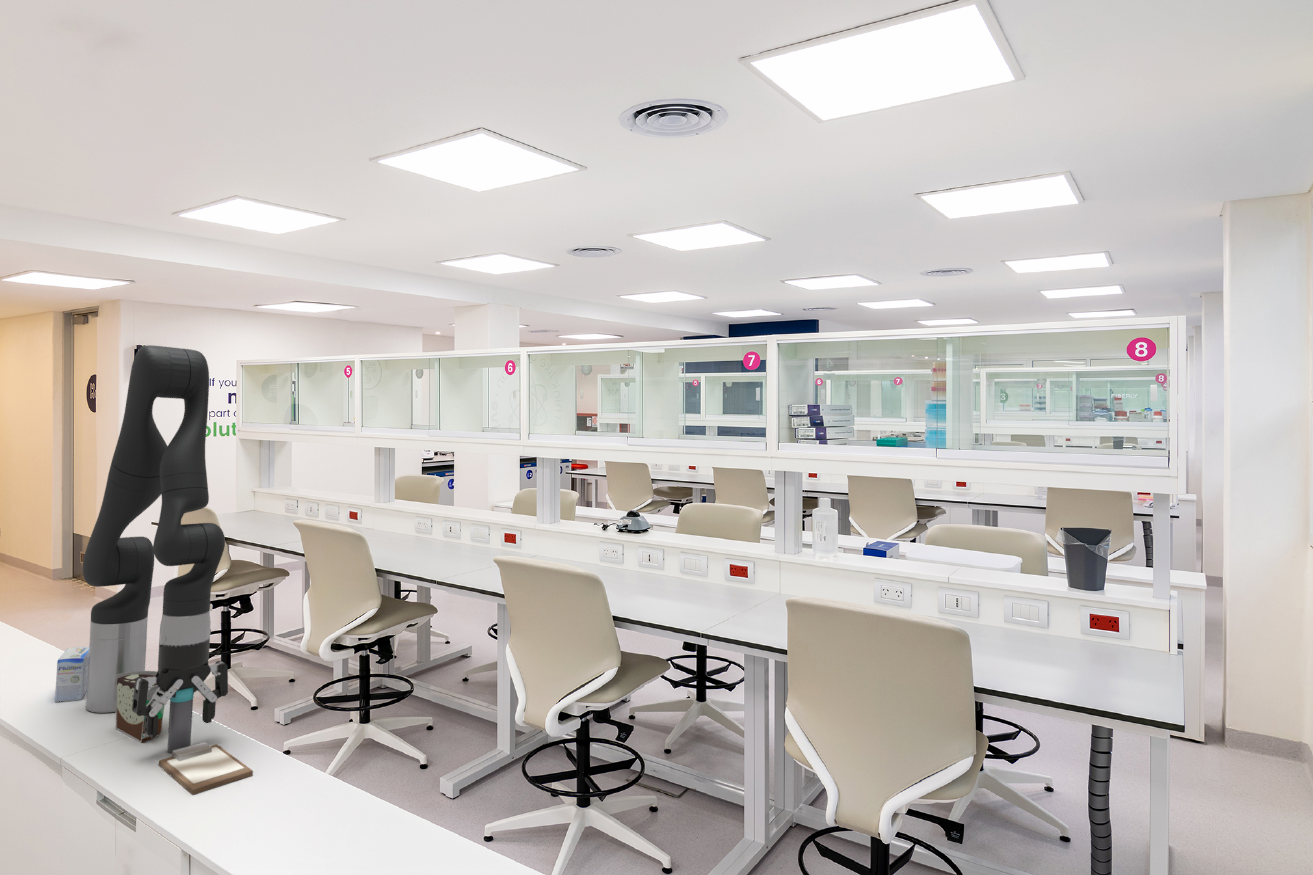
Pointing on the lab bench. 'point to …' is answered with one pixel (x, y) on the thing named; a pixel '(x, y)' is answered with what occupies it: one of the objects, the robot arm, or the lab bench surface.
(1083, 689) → the lab bench surface
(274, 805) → the lab bench surface
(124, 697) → the food container
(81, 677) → the medicine box
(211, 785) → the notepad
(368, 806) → the lab bench surface
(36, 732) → the lab bench surface
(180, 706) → the marker
